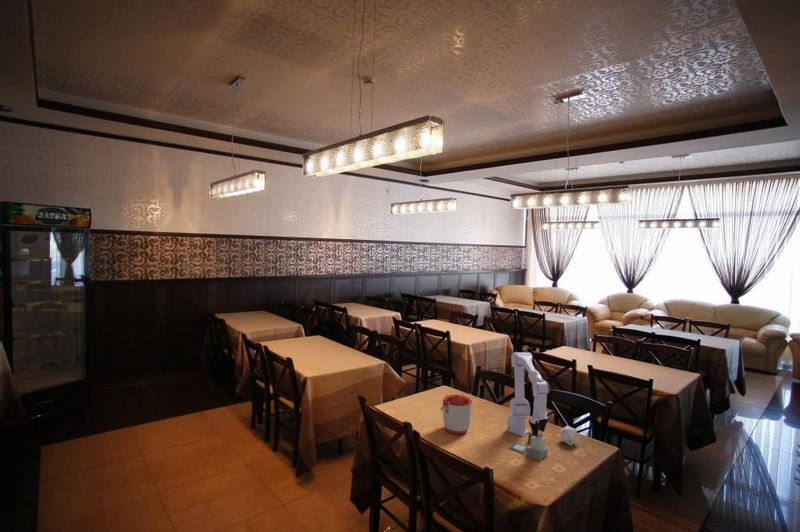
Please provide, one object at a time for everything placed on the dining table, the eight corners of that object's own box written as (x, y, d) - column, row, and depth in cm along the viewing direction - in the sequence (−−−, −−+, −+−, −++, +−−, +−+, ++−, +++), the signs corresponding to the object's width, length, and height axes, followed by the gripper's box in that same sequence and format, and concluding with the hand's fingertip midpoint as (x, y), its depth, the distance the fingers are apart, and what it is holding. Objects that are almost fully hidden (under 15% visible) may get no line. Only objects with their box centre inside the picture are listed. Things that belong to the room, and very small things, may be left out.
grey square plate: (508, 448, 197) (508, 447, 197) (515, 443, 203) (516, 441, 203) (523, 454, 191) (523, 453, 191) (530, 448, 197) (530, 447, 197)
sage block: (530, 447, 191) (530, 437, 190) (535, 444, 194) (535, 434, 194) (540, 451, 187) (540, 441, 187) (544, 448, 191) (545, 438, 191)
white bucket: (434, 426, 219) (435, 391, 218) (461, 422, 225) (463, 388, 224) (447, 439, 204) (448, 401, 203) (476, 434, 210) (477, 398, 210)
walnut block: (528, 441, 205) (528, 432, 205) (532, 438, 209) (532, 429, 208) (537, 445, 201) (537, 435, 201) (541, 441, 205) (541, 432, 205)
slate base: (526, 455, 191) (526, 447, 191) (534, 450, 196) (534, 443, 196) (539, 461, 186) (539, 453, 186) (547, 456, 190) (547, 448, 190)
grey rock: (562, 447, 201) (575, 435, 197) (552, 432, 208) (565, 420, 205) (572, 450, 205) (585, 438, 201) (562, 435, 212) (575, 423, 208)
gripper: (541, 412, 183) (539, 441, 184) (554, 404, 194) (552, 431, 194) (527, 408, 188) (525, 435, 189) (540, 400, 198) (538, 426, 199)
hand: (538, 433), depth 192 cm, fingers open, 7 cm apart
